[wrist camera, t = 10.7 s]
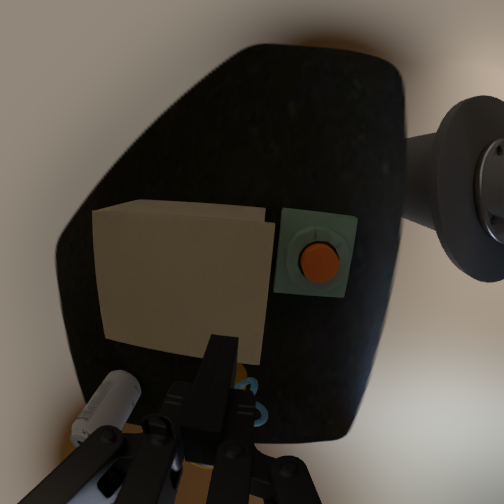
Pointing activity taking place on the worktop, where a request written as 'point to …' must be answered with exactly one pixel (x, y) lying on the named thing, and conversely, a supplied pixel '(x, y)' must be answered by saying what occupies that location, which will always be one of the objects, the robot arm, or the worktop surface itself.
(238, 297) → the beige board
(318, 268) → the button
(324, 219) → the control block
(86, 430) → the energy drink can
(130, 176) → the worktop surface
